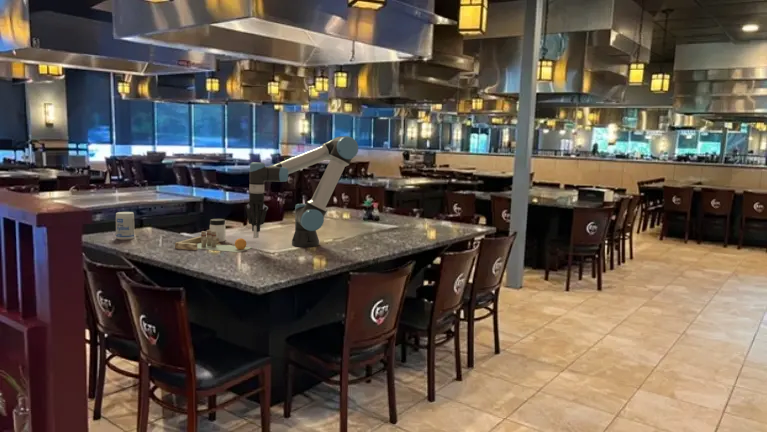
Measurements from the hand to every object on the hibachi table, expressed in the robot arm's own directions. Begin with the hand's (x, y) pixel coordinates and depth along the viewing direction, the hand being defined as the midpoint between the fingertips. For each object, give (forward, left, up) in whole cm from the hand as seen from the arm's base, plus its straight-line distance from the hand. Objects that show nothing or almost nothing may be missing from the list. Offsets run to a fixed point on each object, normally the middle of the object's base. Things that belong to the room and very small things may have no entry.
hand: (255, 237), depth 297 cm
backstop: (+35, 0, -7) cm, 36 cm away
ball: (+9, 0, -4) cm, 10 cm away
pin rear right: (+30, -3, -7) cm, 31 cm away
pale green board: (+22, 0, -7) cm, 23 cm away
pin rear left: (+30, +2, -7) cm, 31 cm away
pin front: (+25, 0, -7) cm, 26 cm away
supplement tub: (+83, -2, -7) cm, 83 cm away
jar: (+34, -18, -7) cm, 39 cm away
